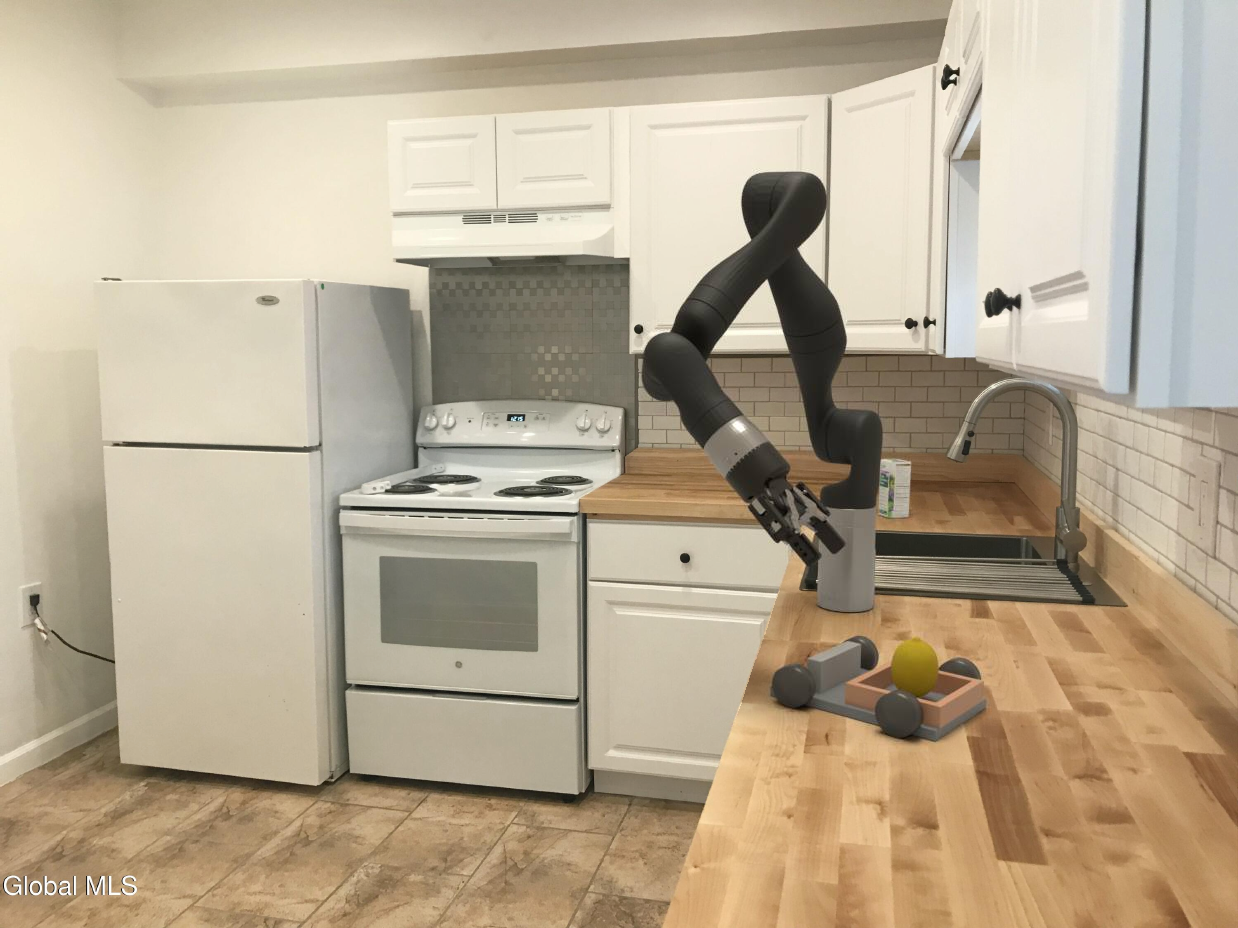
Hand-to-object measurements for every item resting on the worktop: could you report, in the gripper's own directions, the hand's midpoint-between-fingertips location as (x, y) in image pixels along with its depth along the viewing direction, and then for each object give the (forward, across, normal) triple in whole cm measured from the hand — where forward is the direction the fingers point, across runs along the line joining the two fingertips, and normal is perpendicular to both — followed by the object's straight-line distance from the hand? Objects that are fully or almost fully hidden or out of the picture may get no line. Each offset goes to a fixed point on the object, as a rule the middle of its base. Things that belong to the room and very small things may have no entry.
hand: (828, 555), depth 127 cm
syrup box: (-10, +134, +35) cm, 139 cm away
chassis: (+17, +1, +8) cm, 19 cm away
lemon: (+20, 0, +4) cm, 20 cm away
